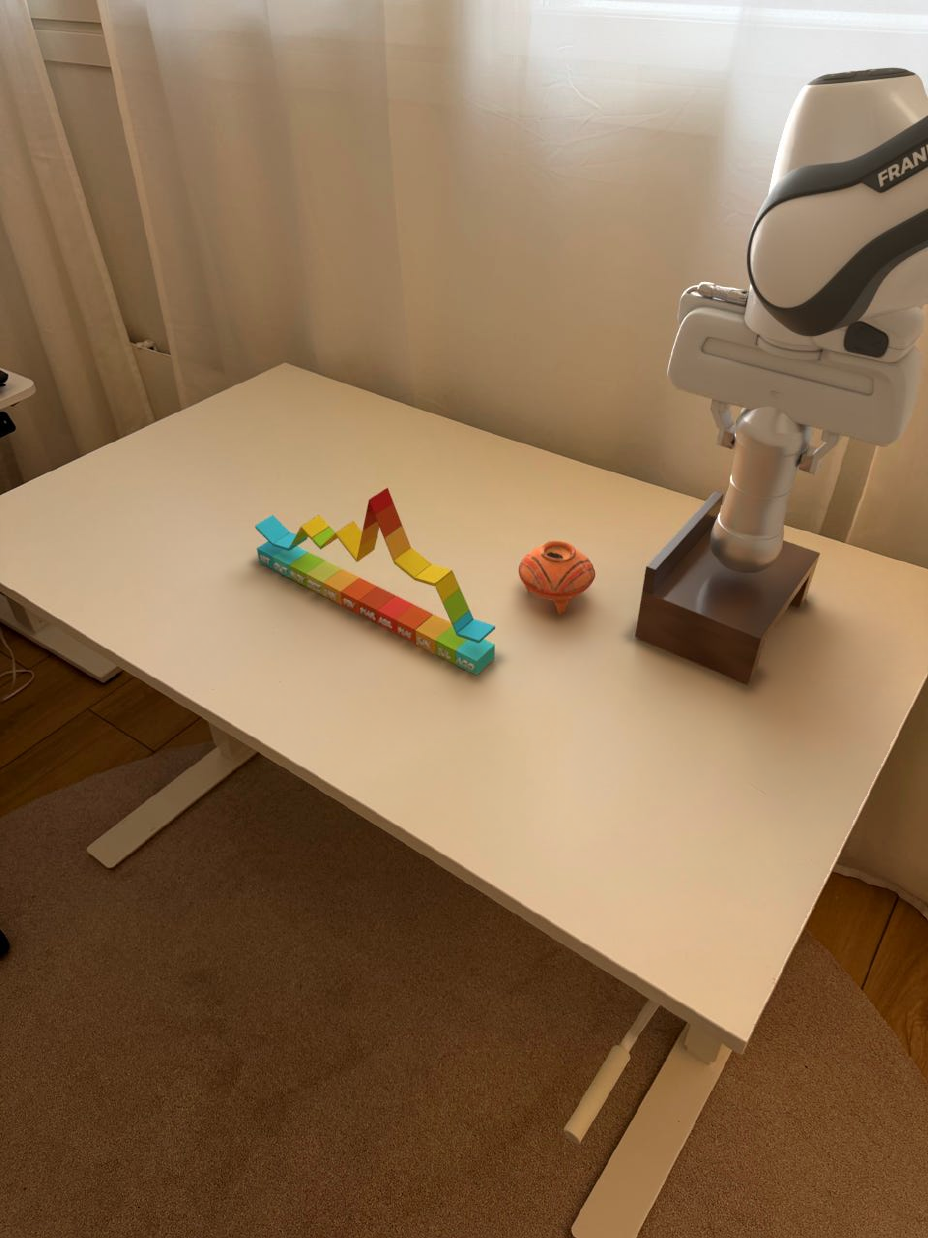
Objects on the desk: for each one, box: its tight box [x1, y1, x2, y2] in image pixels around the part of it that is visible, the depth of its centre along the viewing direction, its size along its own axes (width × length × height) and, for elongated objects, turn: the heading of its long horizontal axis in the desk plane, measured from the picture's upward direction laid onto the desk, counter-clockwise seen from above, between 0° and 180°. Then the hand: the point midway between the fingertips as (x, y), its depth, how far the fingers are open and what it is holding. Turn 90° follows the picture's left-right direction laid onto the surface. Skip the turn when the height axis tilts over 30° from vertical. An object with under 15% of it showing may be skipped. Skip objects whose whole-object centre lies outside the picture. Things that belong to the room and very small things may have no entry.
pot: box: [518, 540, 596, 615], centre depth 93 cm, size 8×8×7 cm
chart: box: [254, 487, 496, 676], centre depth 89 cm, size 30×3×15 cm, turn 53°
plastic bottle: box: [711, 379, 815, 573], centre depth 81 cm, size 6×7×20 cm
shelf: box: [634, 491, 821, 686], centre depth 90 cm, size 12×16×9 cm
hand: (767, 457), depth 80 cm, fingers closed on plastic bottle, 6 cm apart
